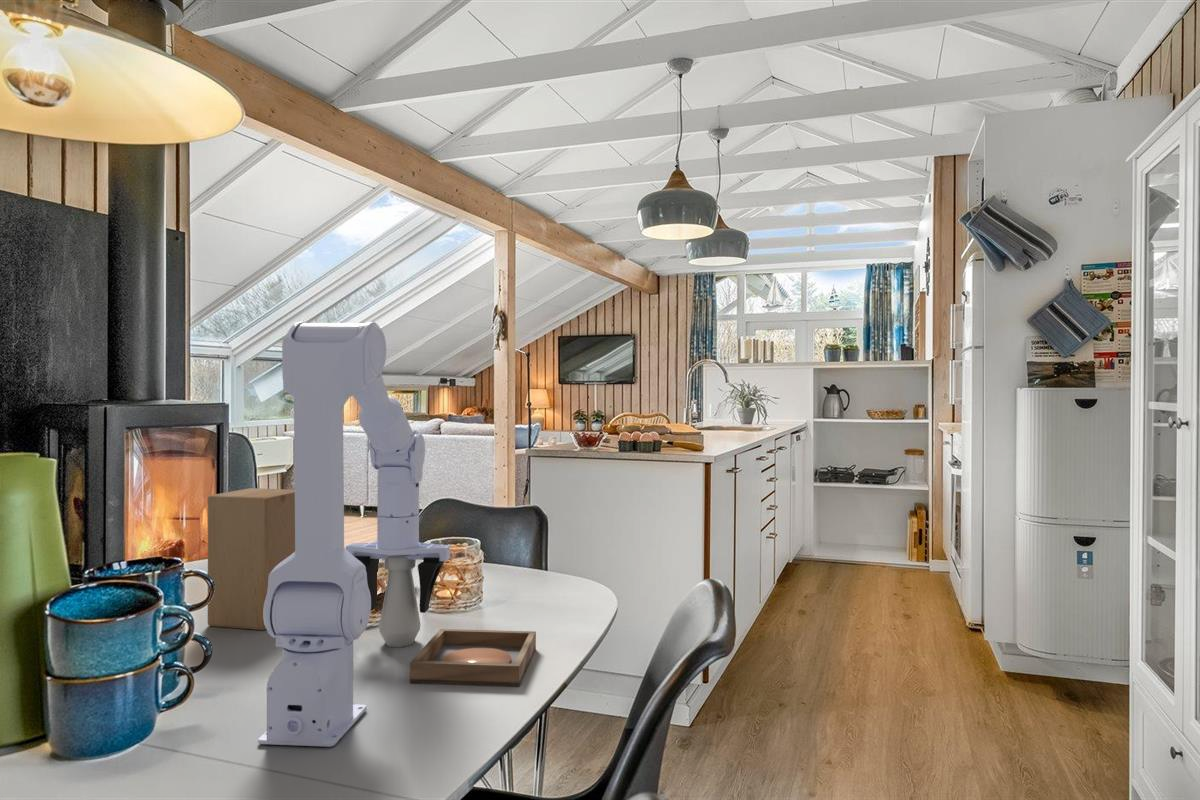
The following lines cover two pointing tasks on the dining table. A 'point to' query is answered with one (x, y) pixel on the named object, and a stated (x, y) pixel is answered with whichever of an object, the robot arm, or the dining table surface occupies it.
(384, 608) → the salt shaker
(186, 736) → the dining table surface
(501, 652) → the coaster
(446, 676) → the square wooden serving tray
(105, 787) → the dining table surface
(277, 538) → the wooden block
